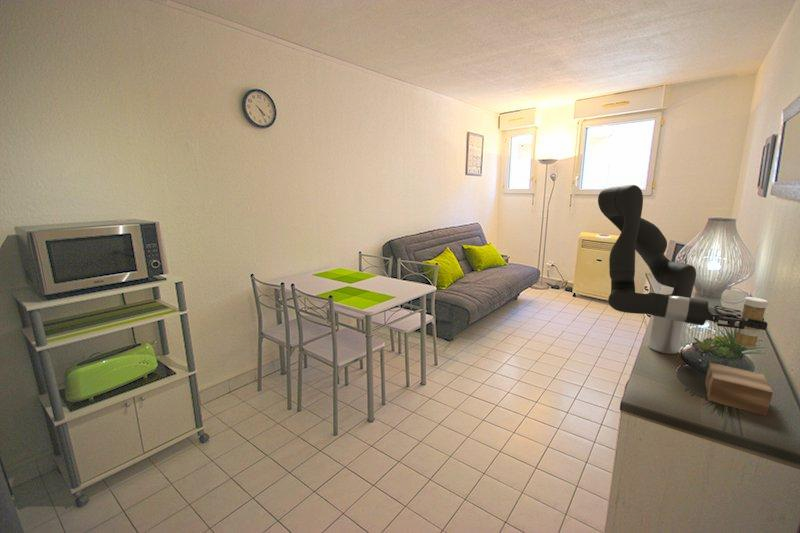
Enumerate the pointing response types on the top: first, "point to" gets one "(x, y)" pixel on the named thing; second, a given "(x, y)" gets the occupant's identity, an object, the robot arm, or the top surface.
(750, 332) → the sprinkles bottle
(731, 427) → the top surface
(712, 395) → the block
